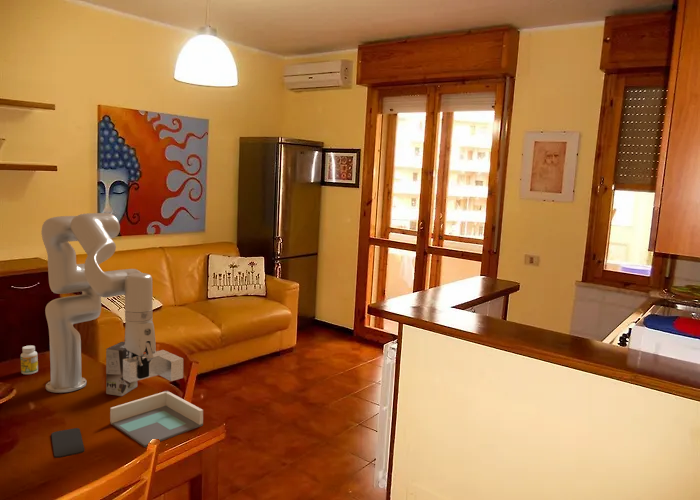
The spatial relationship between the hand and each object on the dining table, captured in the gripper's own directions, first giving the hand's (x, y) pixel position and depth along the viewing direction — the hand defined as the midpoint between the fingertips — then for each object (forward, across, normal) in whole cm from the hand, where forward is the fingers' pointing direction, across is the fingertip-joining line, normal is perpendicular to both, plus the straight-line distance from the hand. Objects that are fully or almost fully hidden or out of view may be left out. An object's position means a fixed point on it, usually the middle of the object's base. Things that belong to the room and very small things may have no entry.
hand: (139, 374), depth 161 cm
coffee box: (+16, +28, -9) cm, 34 cm away
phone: (+17, +4, +19) cm, 26 cm away
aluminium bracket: (+1, -4, -3) cm, 4 cm away
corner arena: (+16, -3, -4) cm, 17 cm away
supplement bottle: (+16, +66, +7) cm, 68 cm away
